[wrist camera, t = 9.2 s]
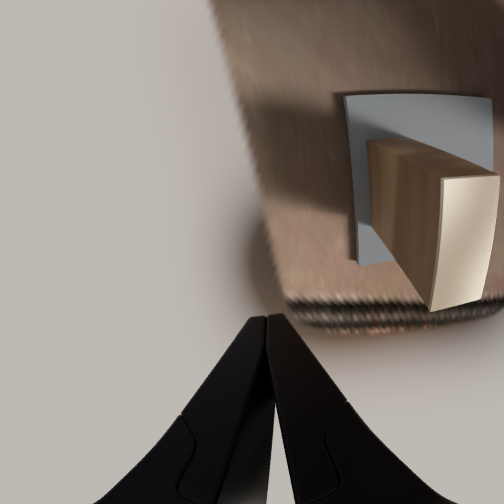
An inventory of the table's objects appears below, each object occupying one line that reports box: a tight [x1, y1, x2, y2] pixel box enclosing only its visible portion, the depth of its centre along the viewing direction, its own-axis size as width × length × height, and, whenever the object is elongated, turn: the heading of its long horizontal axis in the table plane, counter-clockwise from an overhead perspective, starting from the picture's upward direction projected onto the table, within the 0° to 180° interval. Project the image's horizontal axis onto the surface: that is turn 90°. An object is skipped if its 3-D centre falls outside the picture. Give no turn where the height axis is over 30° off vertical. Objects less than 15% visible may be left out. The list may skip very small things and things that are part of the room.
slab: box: [366, 137, 500, 312], centre depth 12 cm, size 2×5×8 cm, turn 10°
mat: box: [343, 94, 493, 266], centre depth 16 cm, size 10×10×1 cm
